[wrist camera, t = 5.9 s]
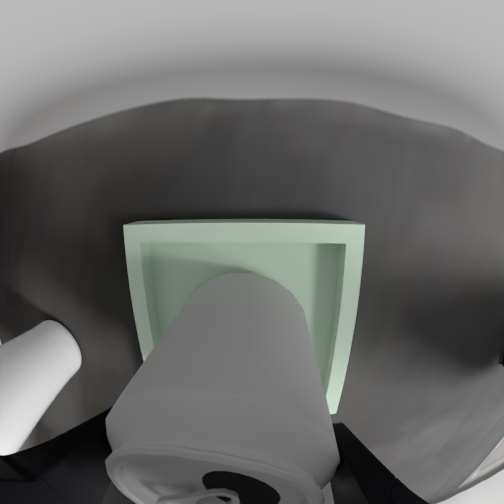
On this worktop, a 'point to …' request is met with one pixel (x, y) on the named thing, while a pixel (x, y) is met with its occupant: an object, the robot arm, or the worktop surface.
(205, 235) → the tray
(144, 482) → the can
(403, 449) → the worktop surface
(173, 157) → the worktop surface
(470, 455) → the worktop surface
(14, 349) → the drinking glass
